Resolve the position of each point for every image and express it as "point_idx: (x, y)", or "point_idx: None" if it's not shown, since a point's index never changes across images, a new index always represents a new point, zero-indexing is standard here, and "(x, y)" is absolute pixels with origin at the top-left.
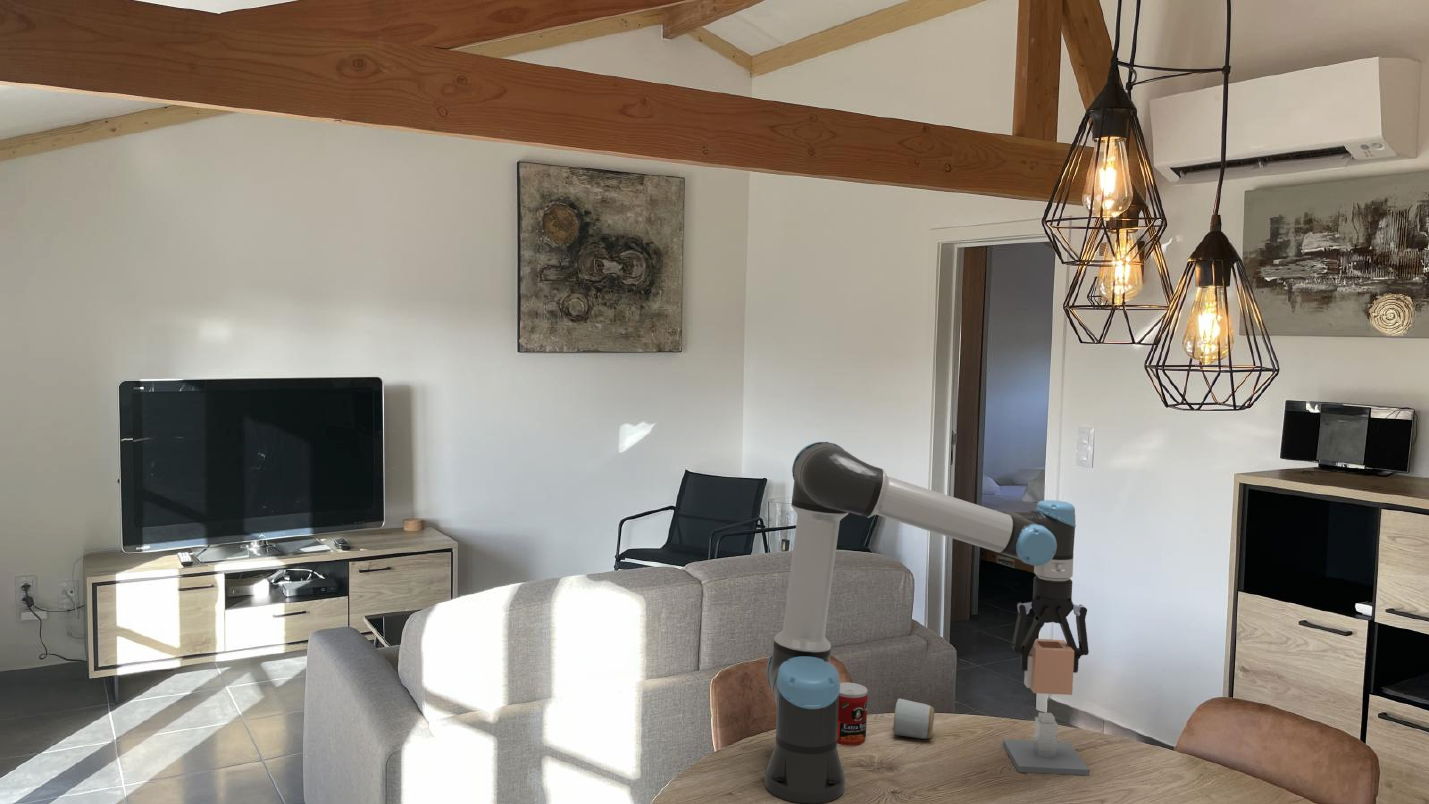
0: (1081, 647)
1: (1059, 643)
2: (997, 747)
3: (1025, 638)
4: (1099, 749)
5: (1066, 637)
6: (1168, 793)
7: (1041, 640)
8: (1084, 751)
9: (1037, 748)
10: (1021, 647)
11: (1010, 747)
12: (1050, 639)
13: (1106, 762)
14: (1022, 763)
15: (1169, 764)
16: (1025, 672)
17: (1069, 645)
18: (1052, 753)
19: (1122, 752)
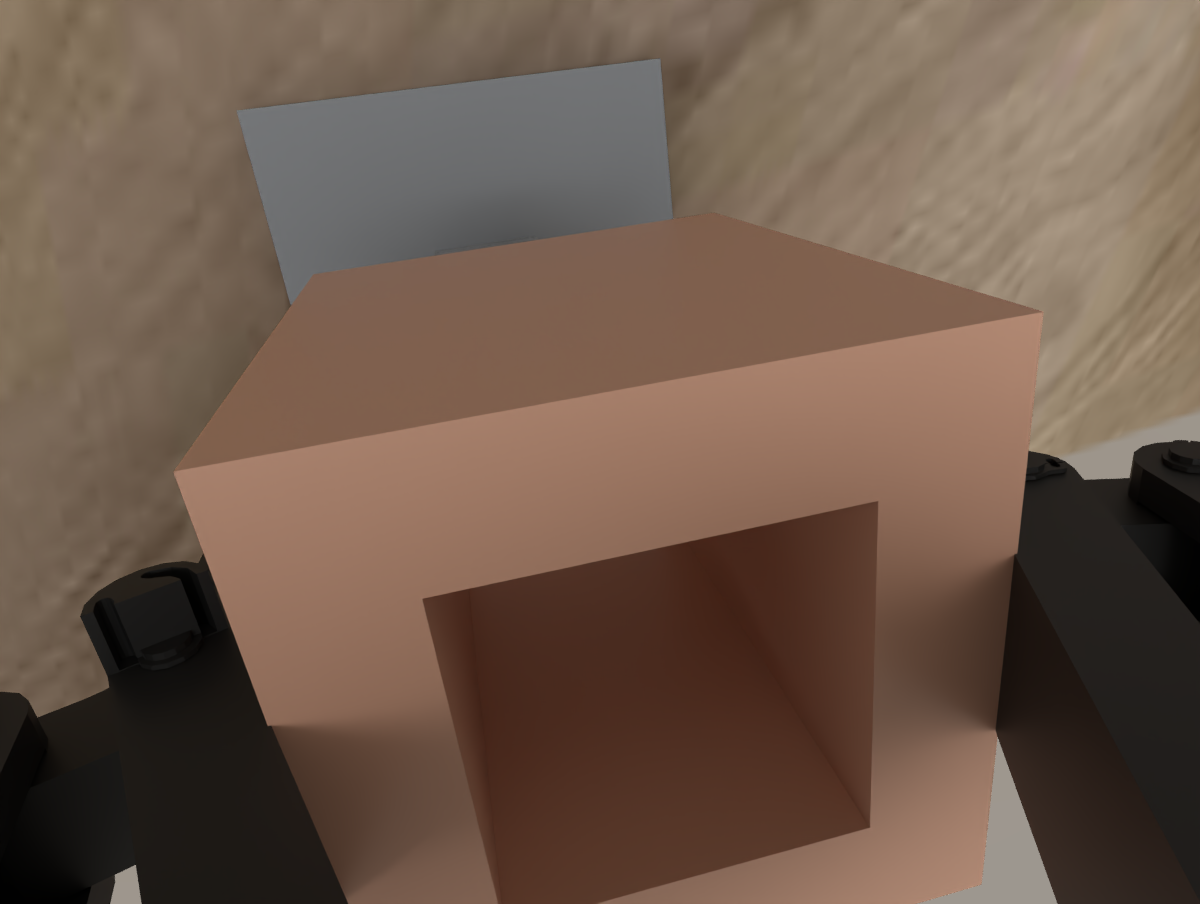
0: (1189, 541)
1: (875, 599)
2: (214, 170)
3: (136, 838)
4: (816, 38)
5: (1057, 855)
6: None
7: (542, 513)
8: (726, 95)
9: None
10: (121, 859)
11: (293, 251)
12: (762, 373)
13: (801, 230)
14: None
15: (1088, 168)
16: None
17: (1004, 724)
18: None
19: (925, 54)
